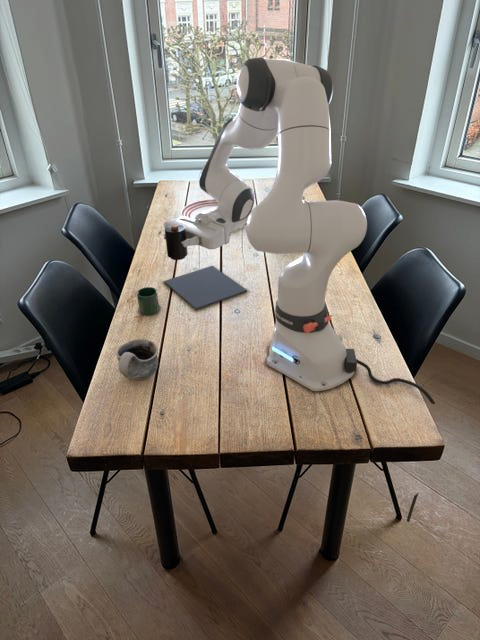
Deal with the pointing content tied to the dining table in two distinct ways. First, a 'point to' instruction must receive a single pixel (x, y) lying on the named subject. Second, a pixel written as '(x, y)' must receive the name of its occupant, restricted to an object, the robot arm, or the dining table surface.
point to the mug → (138, 359)
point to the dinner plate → (198, 208)
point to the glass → (148, 301)
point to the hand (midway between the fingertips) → (173, 240)
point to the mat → (204, 287)
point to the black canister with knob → (175, 241)
